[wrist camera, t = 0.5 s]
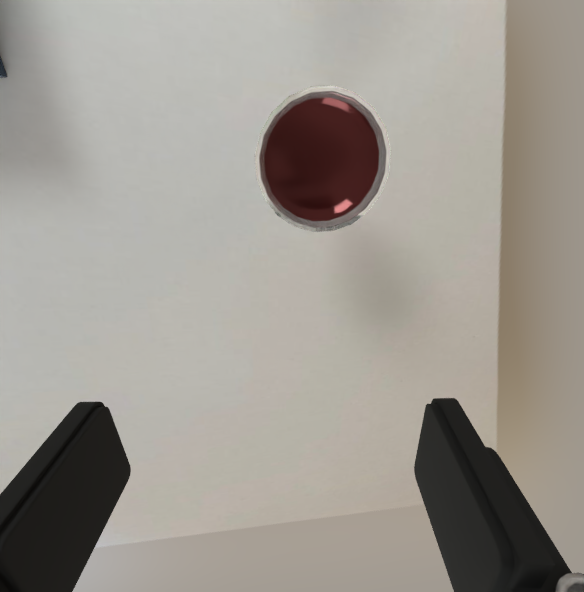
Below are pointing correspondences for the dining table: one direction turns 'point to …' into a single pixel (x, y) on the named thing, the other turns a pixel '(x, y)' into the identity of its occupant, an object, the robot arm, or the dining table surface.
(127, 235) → the dining table surface
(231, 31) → the dining table surface
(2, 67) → the box
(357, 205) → the wineglass
